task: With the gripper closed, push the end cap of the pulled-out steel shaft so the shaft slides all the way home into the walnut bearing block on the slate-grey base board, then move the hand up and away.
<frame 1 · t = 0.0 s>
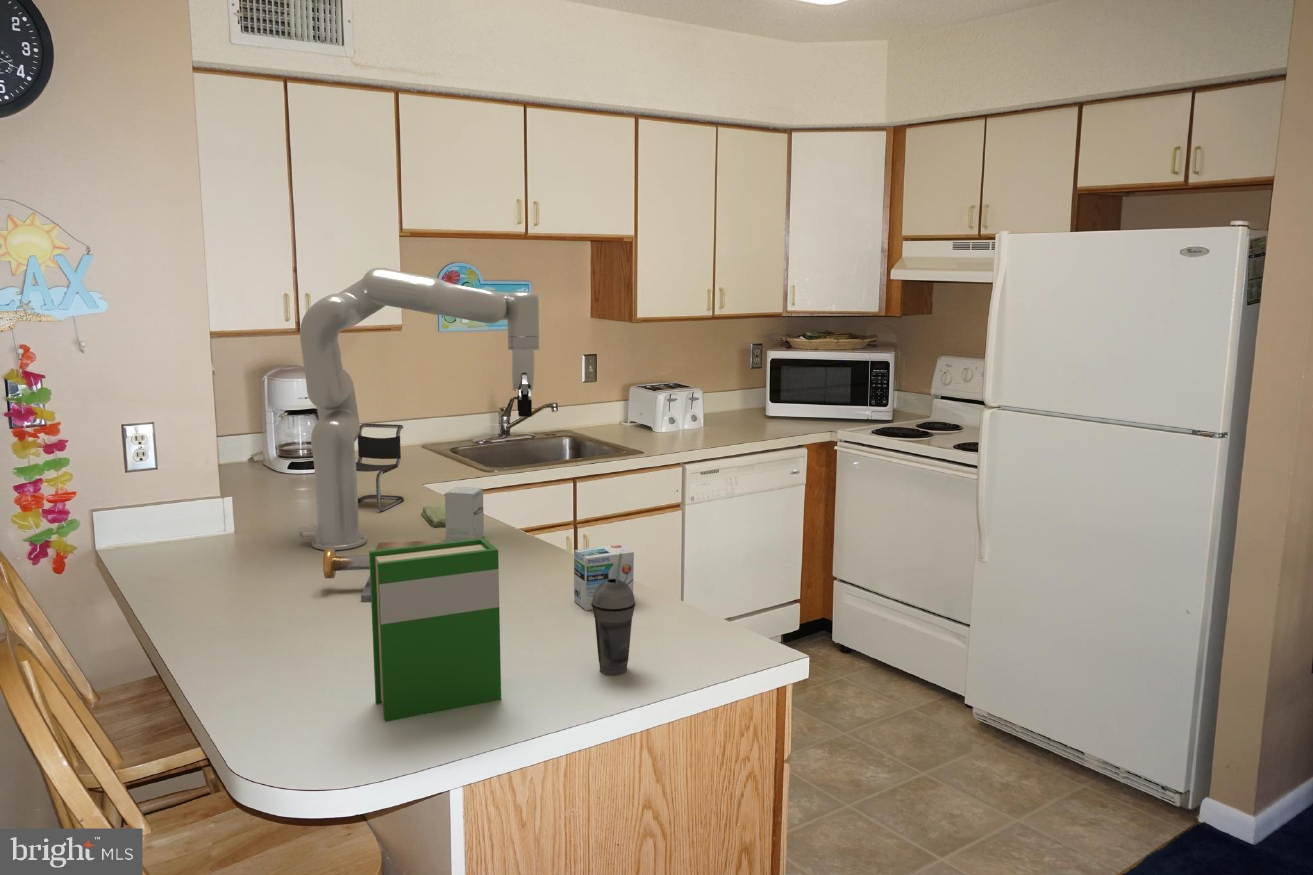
hand: (524, 413, 237), 31 cm above the worktop, tool pointing down, fingers open, 9 cm apart
chair: (372, 506, 275), on the worktop
shaft: (375, 562, 202), point 6 cm above the worktop, slide at 8.0 cm
beverage cup: (613, 670, 162), on the worktop
washcloth: (449, 520, 261), on the worktop
light bulb box: (603, 603, 195), on the worktop
bearing block: (411, 586, 204), on the worktop
supplement box: (465, 540, 240), on the worktop
hardback book: (438, 702, 150), on the worktop
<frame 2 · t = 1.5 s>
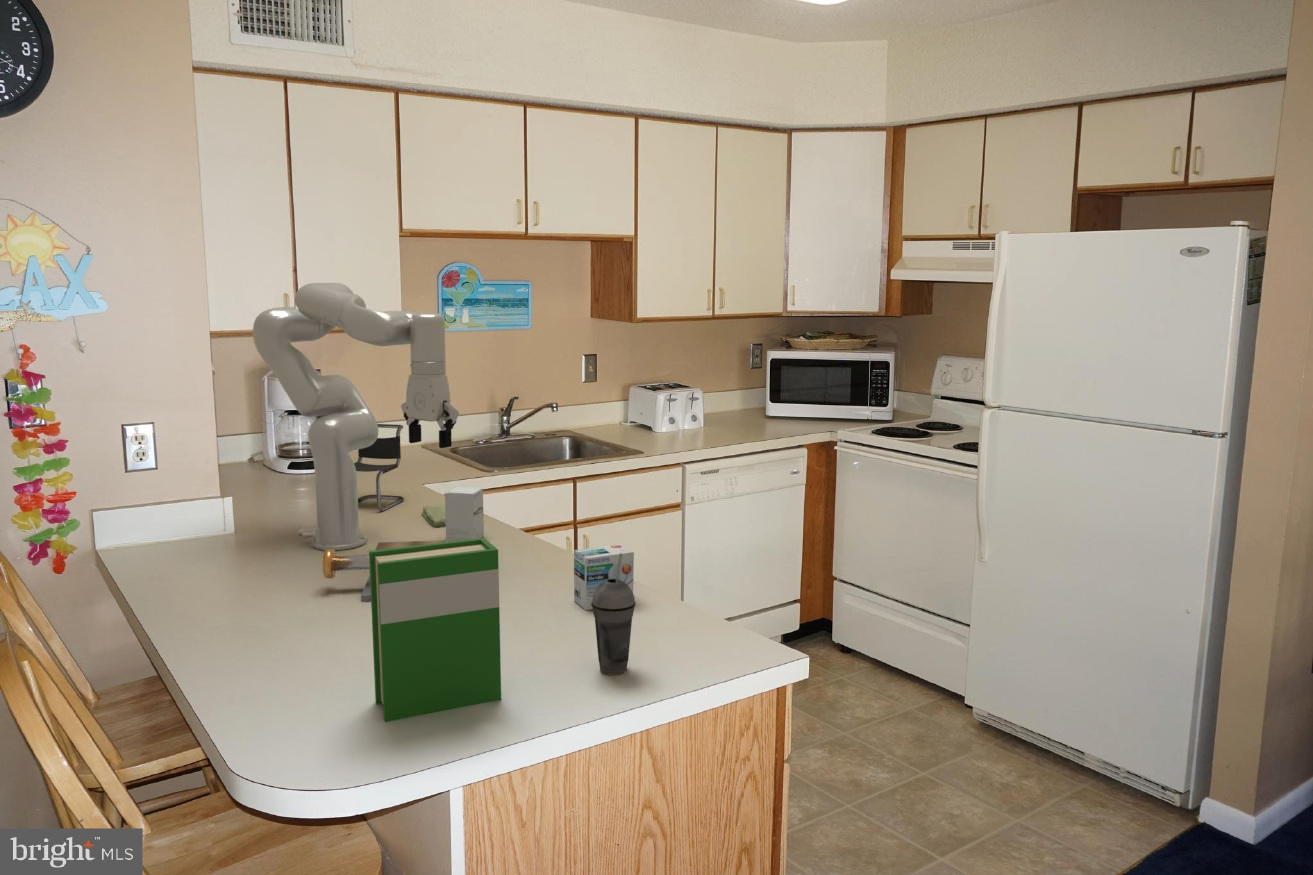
hand: (430, 444, 219), 27 cm above the worktop, tool pointing down, fingers open, 9 cm apart
nothing on the worktop moved.
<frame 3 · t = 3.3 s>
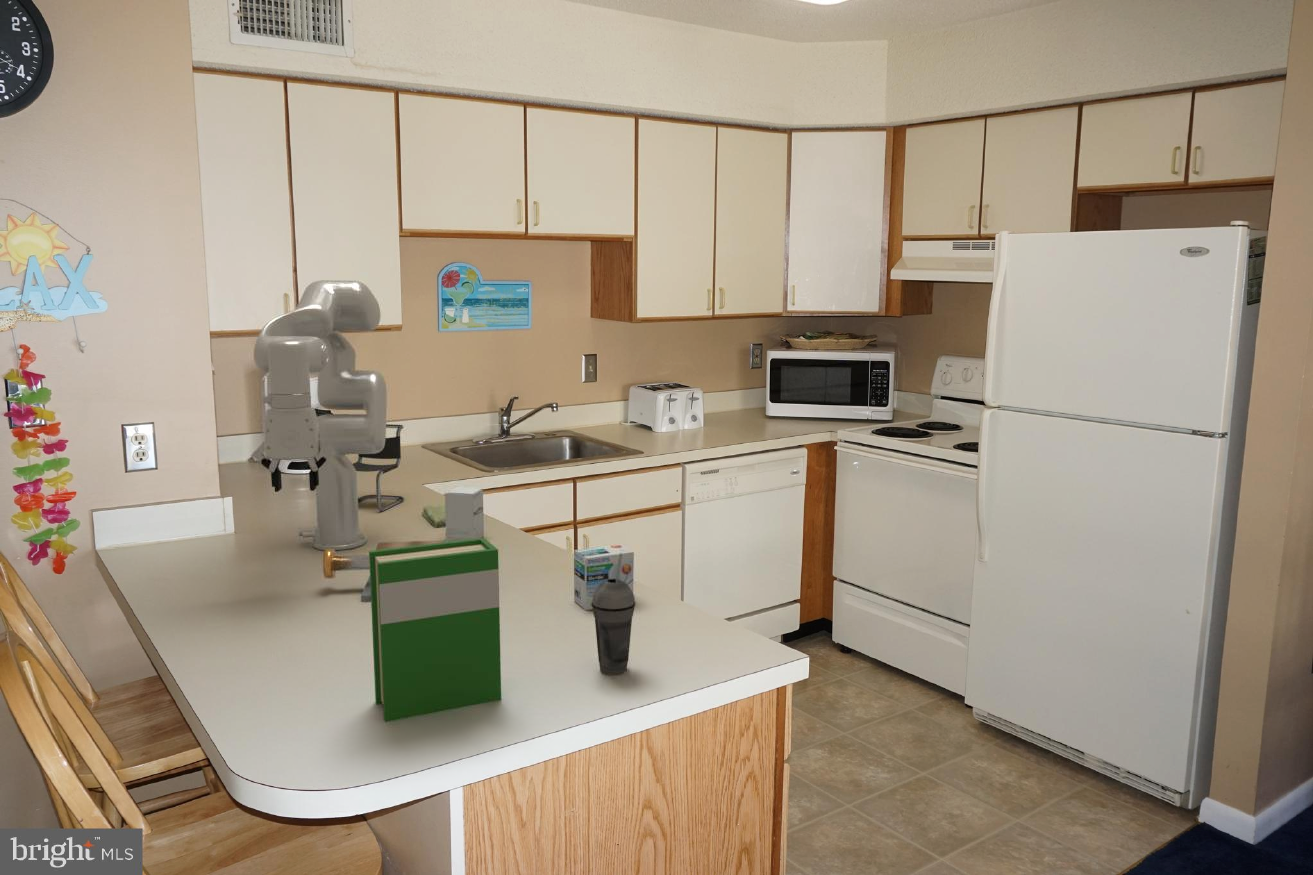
hand: (295, 489, 197), 22 cm above the worktop, tool pointing down, fingers open, 6 cm apart
nothing on the worktop moved.
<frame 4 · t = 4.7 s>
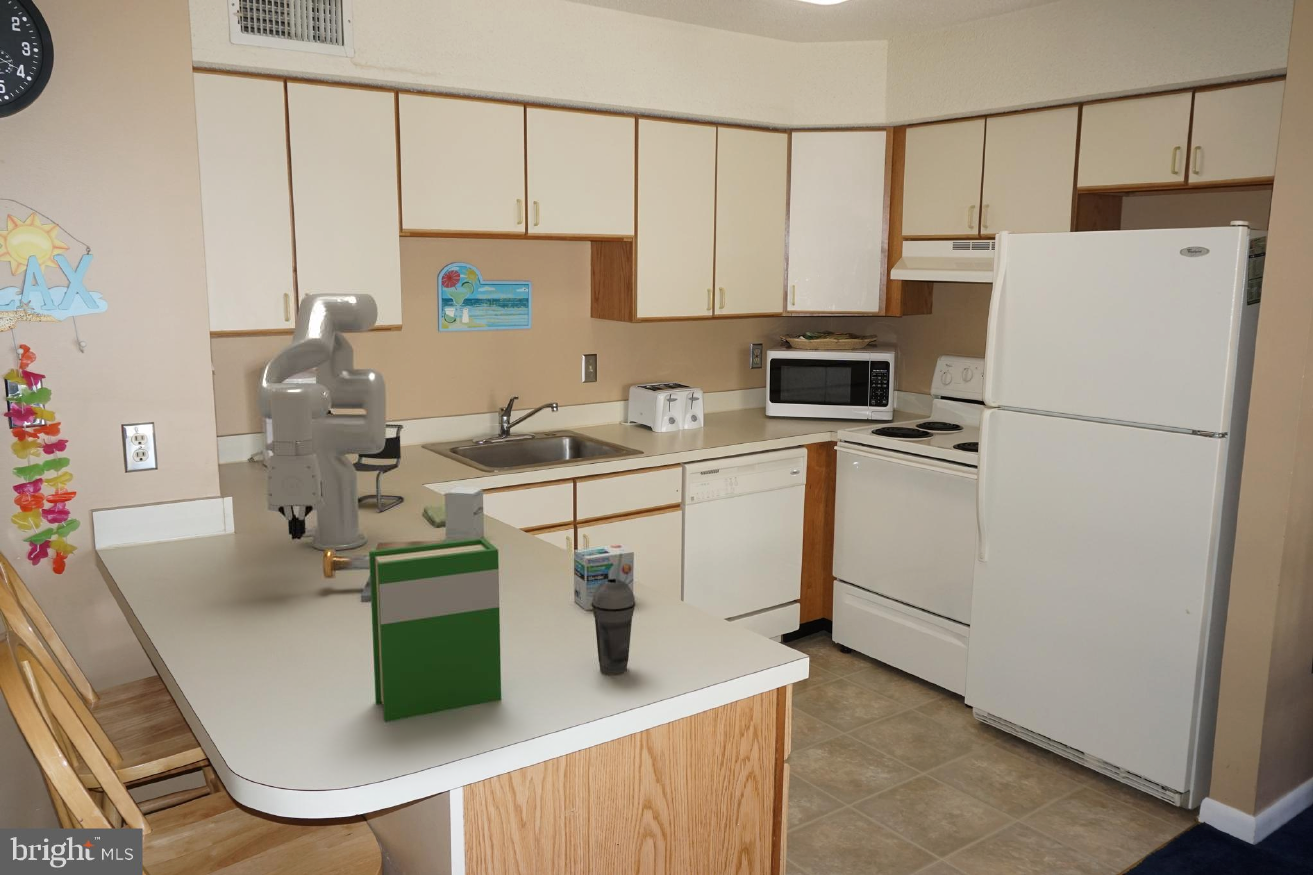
hand: (297, 537, 198), 12 cm above the worktop, tool pointing down, fingers closed
nothing on the worktop moved.
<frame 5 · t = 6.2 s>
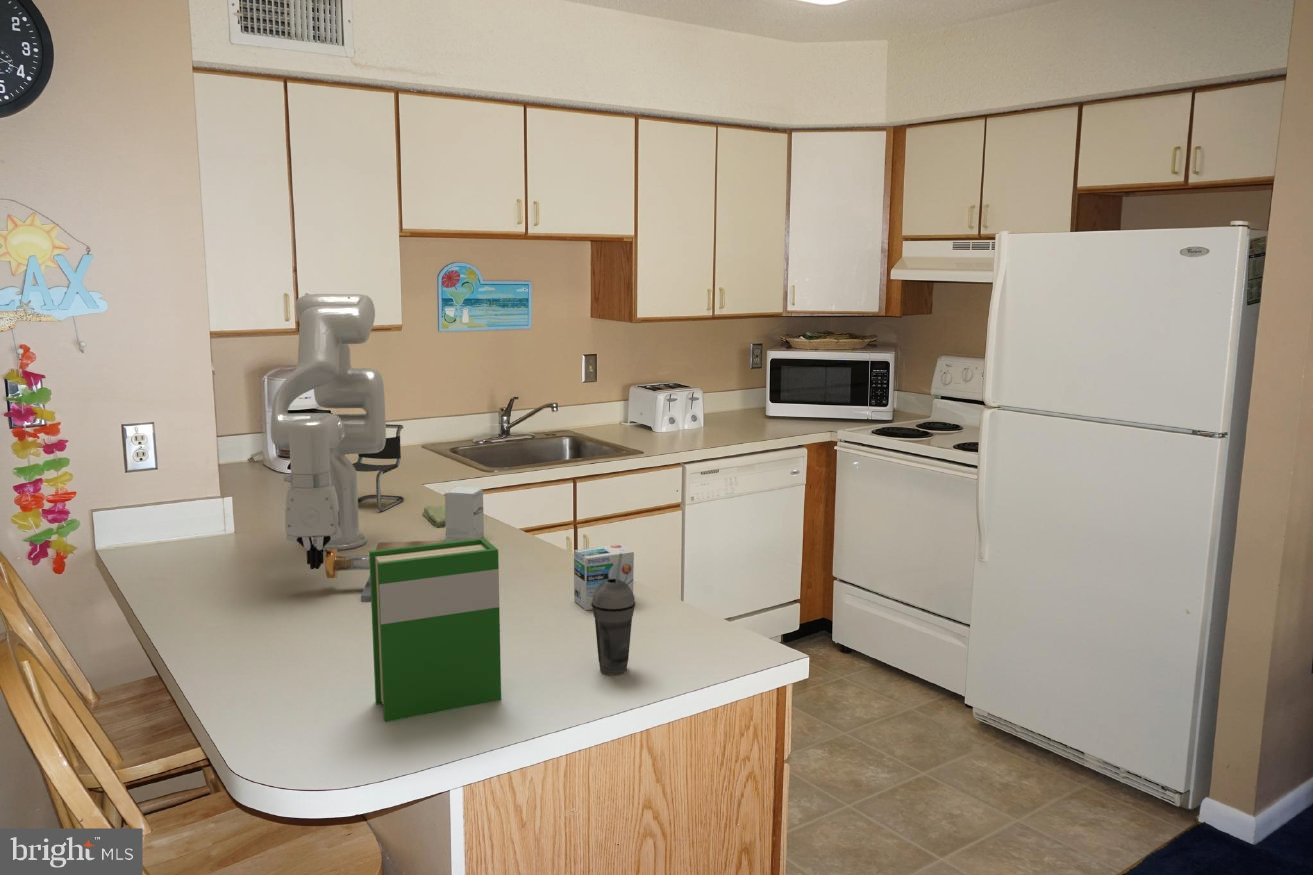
hand: (315, 567, 200), 5 cm above the worktop, tool pointing down, fingers closed
shaft: (377, 561, 202), point 6 cm above the worktop, slide at 7.5 cm, touching gripper
everything else where it was.
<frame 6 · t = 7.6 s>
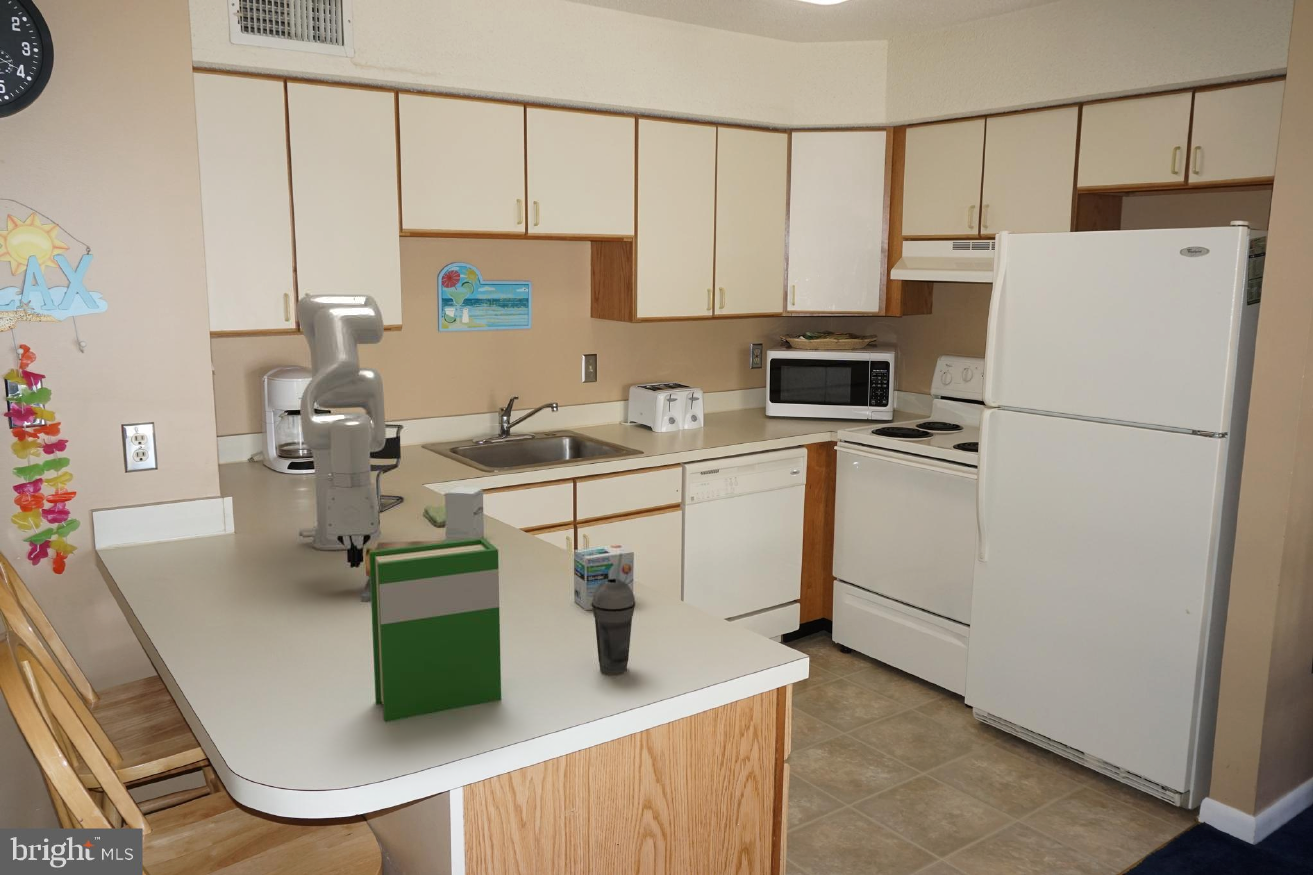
hand: (355, 565, 201), 5 cm above the worktop, tool pointing down, fingers closed
shaft: (416, 560, 203), point 6 cm above the worktop, slide at -0.3 cm, touching bearing block, gripper
everything else where it was.
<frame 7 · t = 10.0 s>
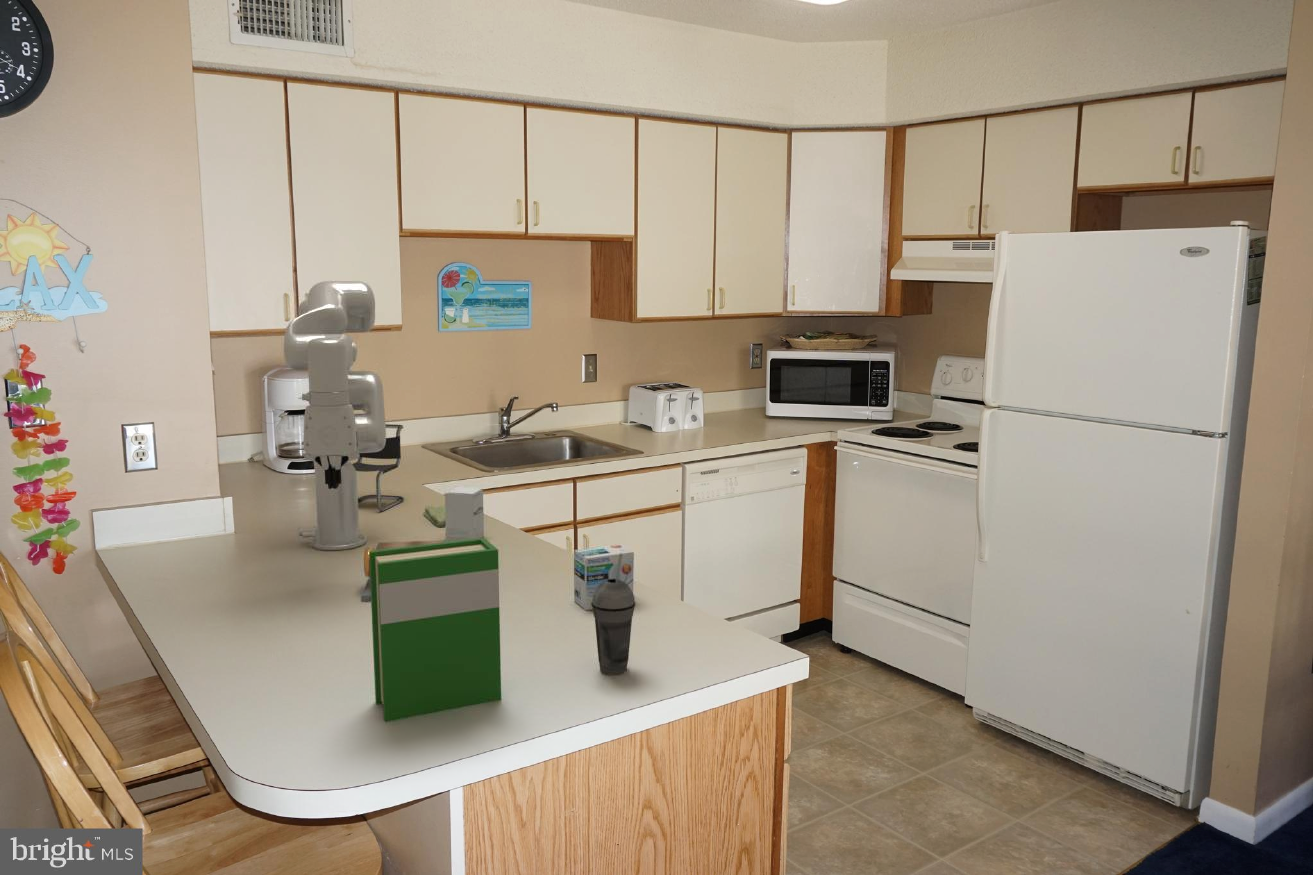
hand: (333, 487, 200), 21 cm above the worktop, tool pointing down, fingers closed
shaft: (415, 560, 203), point 6 cm above the worktop, slide at 0.0 cm
everything else where it was.
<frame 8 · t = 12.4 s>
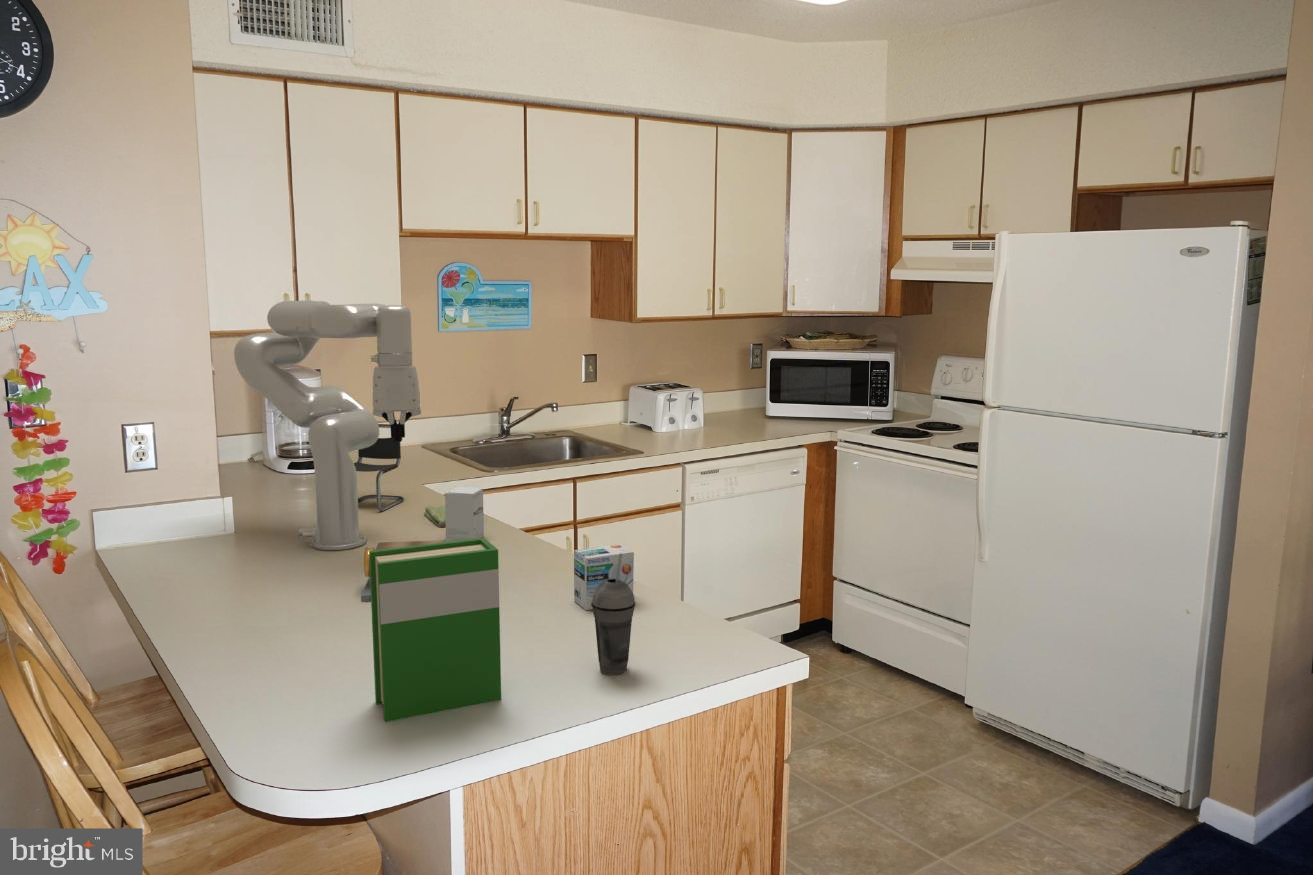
hand: (398, 440, 222), 27 cm above the worktop, tool pointing down, fingers closed
at the end: shaft slide at 0.0 cm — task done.
